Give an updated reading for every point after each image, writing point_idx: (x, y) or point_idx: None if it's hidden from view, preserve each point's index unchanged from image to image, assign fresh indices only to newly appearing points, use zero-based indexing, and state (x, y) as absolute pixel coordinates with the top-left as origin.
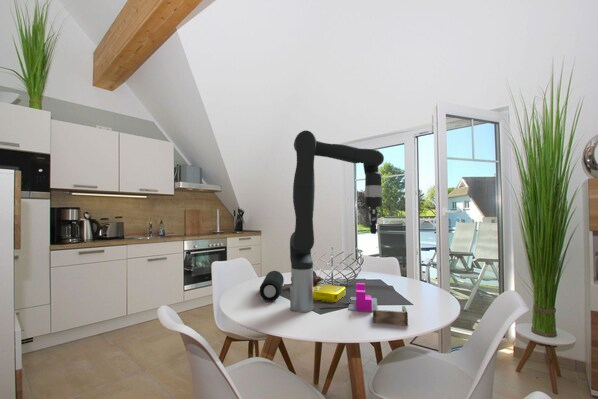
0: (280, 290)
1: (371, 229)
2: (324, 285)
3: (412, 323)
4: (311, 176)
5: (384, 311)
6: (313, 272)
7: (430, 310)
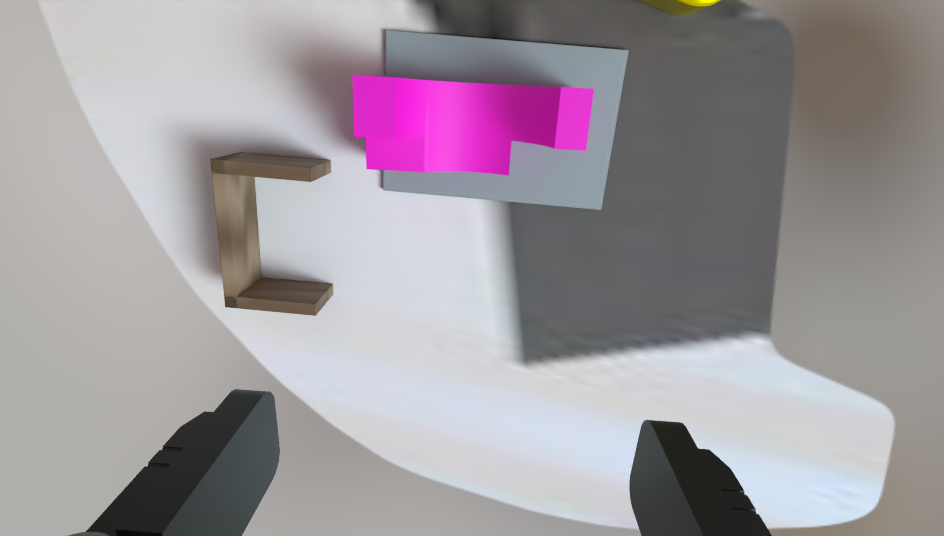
0: None
1: (195, 448)
2: None
3: None
4: None
5: (217, 212)
6: None
7: (447, 409)
